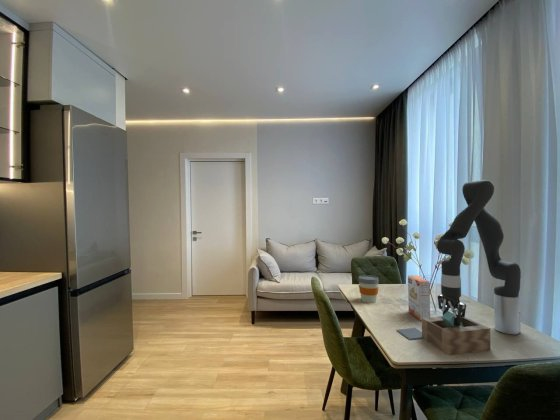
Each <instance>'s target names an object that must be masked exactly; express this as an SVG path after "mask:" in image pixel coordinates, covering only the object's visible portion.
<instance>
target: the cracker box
mask: <svg viewBox="0 0 560 420" xmlns="http://www.w3.org/2000/svg"><path fill="white" fill-rule="evenodd" d="M430 284H431V283H430V281H429V280H427V279H425V278H423V277H421V276H419V275H417V274H415V275H407V298H408V299H407V301H408V304H407V305H408V307H407V308H408V312H409V313H411V314H412V315H413V316H414V317H415V318H416V319H417V320H419V321H422V318H428V317H431V288H430V286H431V285H430Z"/></svg>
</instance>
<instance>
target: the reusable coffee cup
mask: <svg viewBox="0 0 560 420" xmlns="http://www.w3.org/2000/svg"><path fill="white" fill-rule="evenodd" d="M379 281H380V280H379V277H377V276H375V275H371V274H370V275H369V274H368V275H367V274H365V275H359V276H358V283H359V284H358V289H359V293H360V298H361V301H362V302H363V303H366V302H367V304H368V303H369V304H373V303H376V302H377V297H378V296H377V295H378V293H379V283H380V282H379Z"/></svg>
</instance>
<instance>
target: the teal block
mask: <svg viewBox="0 0 560 420" xmlns="http://www.w3.org/2000/svg"><path fill="white" fill-rule="evenodd" d="M441 316H442V319H443V320H444V322H445V323H446V324H447V326H448V327H457V326H455V325H454V314H453V312H452V311H451V312H450V311H449V310H448V311H447V312H446V313H445V314H444V315H443V314H442V315H441ZM460 326H461V327H464V326H463V325H462V323H461V322H460Z"/></svg>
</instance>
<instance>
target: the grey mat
mask: <svg viewBox="0 0 560 420" xmlns="http://www.w3.org/2000/svg"><path fill="white" fill-rule="evenodd" d="M396 332H397V333H399V334H400V333H401V334H400V335H402V336H403V337H405V338H406V339H408V340H409V341H413V340H414V341H415V340H422V339H423V337H422V330H420V329H418V328H417V327H412V328H411V327H410V328H401V329H400V328H398V329H396ZM423 340H424V339H423Z"/></svg>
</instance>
